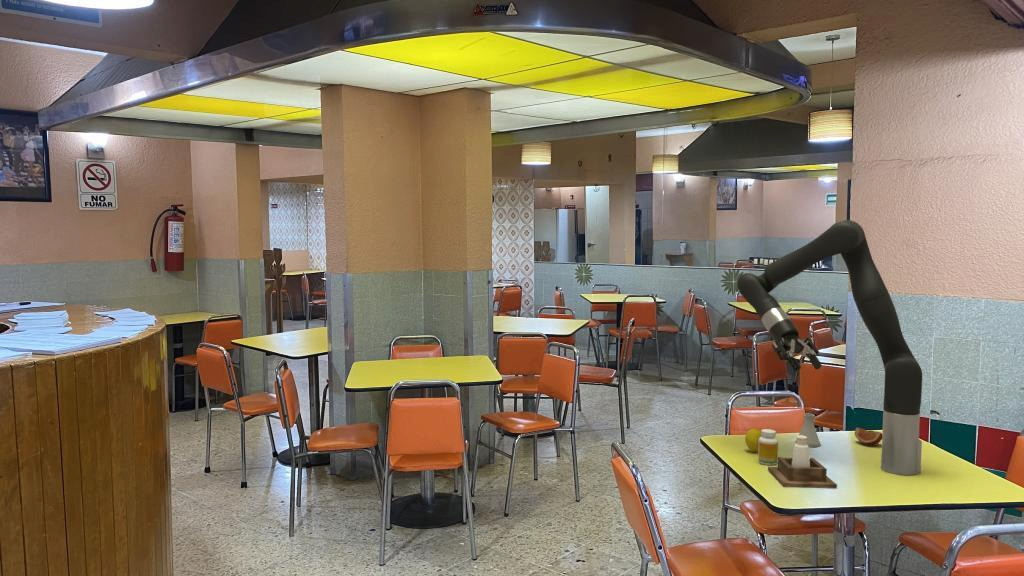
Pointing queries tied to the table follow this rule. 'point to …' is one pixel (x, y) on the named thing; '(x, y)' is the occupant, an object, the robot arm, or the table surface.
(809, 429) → the flask
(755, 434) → the fruit
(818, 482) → the socket cup
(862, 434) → the fruit slice
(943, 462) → the table surface
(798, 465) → the pepper shaker
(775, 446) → the supplement bottle
